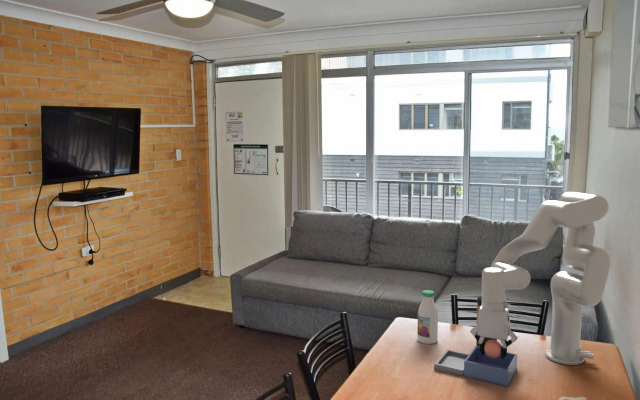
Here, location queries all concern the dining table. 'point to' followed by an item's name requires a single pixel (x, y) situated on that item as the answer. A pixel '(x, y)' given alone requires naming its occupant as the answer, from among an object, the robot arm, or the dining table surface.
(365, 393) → the dining table surface
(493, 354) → the ball
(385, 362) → the dining table surface
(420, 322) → the milk bottle
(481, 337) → the robot arm
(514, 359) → the blue storage bin
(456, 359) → the tray
